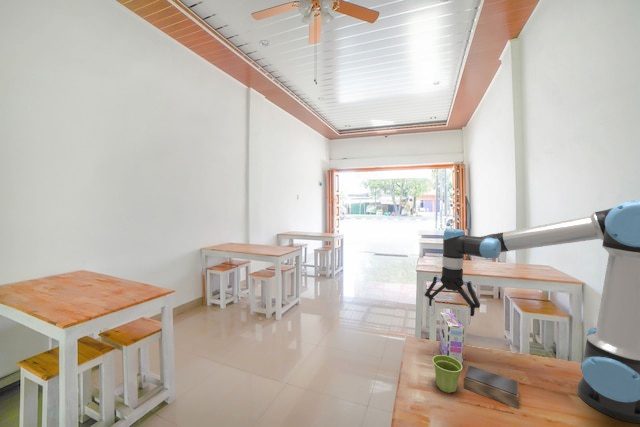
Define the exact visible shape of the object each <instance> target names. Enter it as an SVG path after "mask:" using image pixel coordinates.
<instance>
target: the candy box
mask: <svg viewBox="0 0 640 427" xmlns="http://www.w3.org/2000/svg"><path fill="white" fill-rule="evenodd" d="M464 332H465V327H464V326H463V325H462V323H461V322H460V321H459V319H458V318H457V317H456V315H455V314H454V313H452V312H439V333H438V334H439V342H438V344H439V345H438V350H439V352H440V353H441V354H440V355H446V356H450V357H452V358H454V359H456V360H458V361H459V362H460V363H461V364H462V367H464V366H463V364H464V337H465V333H464ZM462 370H463V368H462Z"/></svg>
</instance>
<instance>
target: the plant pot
mask: <svg viewBox="0 0 640 427" xmlns="http://www.w3.org/2000/svg"><path fill="white" fill-rule="evenodd" d="M431 361H432V363H433V367H434V372H435V380H436V386H437V387H438V388H439V390H440V391H442V392H445V393H447V394H450V393H455V392H456V391H457V389H458V388H457V387H458V381H459V377H460V374H461V372H462V371H463V369H462V368H463V367H464V366H463V367H462V364H461V363H460V362H459V361H458V360H456V359H454V358H452V357H450V356H446V355H442V354H437V355H434V356H433V357H432V360H431Z"/></svg>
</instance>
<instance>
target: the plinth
mask: <svg viewBox="0 0 640 427" xmlns="http://www.w3.org/2000/svg"><path fill="white" fill-rule="evenodd" d="M466 367H467V368H466V370H465V374H464V377H463V389H466V390H468V391H471V392H473V393H475V394H479V395H480V396H484V397H487V398H488V399H489V398H490V399H492V400H495V401H497V402H499V403H503V404H504V405H508V406H510V407H513V408H516V409H519V395H520V394H519V392H520V391H519V390H520V388H519V385H520V383H519V381H518V380H516V379H512V378H510V377H506V376H502V375H500V374H497V373H494V372H491V371H488V370H485V369H483V368H482V369H481V368H478V367H476V366H473V365H467V366H466Z"/></svg>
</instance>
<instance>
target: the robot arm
mask: <svg viewBox="0 0 640 427" xmlns="http://www.w3.org/2000/svg"><path fill="white" fill-rule="evenodd" d="M465 232H466V231H465V230H463V229H458V228H448V229H447V228H446V229H445V230H444V232H443V237H442V238H443V239H442V241H443V242H442V244H443V245H442V264H441V265H442V267H441V268H442V270H441V276H438V275H435V276H433V279H432V282H431V283H430V285H429V287H428V289H427V290H426V292H425V294H424V296H425V297H427V298H428V306H429V307H431V309H430V310H431V311H430V312H431V313H430V315H431V316H434V315H435V313H436V312H435V311H436V297H435V296H436V295H438V294H439V293H440V292H441V291H442V290H444V289H446V290H448V291H452V292H456V291H457V292H458V293H459V294H460V296H461V297H462V298H463V299H464V300H465V302H466V303H467V305H468V310H467V325H471V322H472V317H474V315H475V312H476V311H475V310H476V309H479V308H480V307H481V303H480V301H479V299H478V297H477V295H476V292H475V291H474V288H473V285H472V281H470V280H469V281H464V280H463V278H464V270H463V268H464V256H465V255H467V256H472V257H478V258H483V259H491V260H492V259H493V260H496V259H498V258H499V257H500V255H501V253H505V252H511V251H520V250H526V249H533V248H541V247H548V246H557V245H563V244H573V243H579V242H587V241H593V240H600V241H602V246H601V247H602V248H604V250H605V251H606V252H607V253H608V258H607V261H606V262H607V264H606V269H605V274H604V275H605V276H604V281H603V287H602V294H601V298H600V303H599V304H600V306H599V312H598V315H597V322H596V327H590V328H589V329H588V331H587V334H586V336H587V337H586V342H585V348H584V352H583V353H584V354H583V358H582V359H583V360H582V362H581V363H580V370H581V374H582V377H581V379H580V381H579V382H578V385H577V394H578V397H579V398H580V399H581V400H582V401H583V402H585V403H586V404H587V405H588V406H590V407H591V408H593V409H595V410H597V412H601V413H603V414H604V415H606V416H610V417H611V418H614V419H617V420H620V421H623V422H628V423H633V424H640V199H639V200H634V199H633V200H630V201H626V202H622V203H618V205H616V206H614V207H612V208H607V209H604V210H598V211H594V212H593V213H592V214H591V215H590V216H584V217H579V218H574V219H568V220H562V221H557V222H551V223H547V224H541V225H536V226H531V227H526V228H524V227H523V228H519V229H514V230H509V231H504V232H498V233H491V234H487V235H482V236H474V235H473V236H472V235H466V233H465ZM438 282H440V283H441V284H442V285H441V286H439V287H438V288H437V289H436V290H435V291H433V292H432V290H433V289H434V287H435V285H436V284H437V283H438ZM462 286H465V287H466V288H467V291H468V293H469V295H470V296H469V295H468V294H467V293H466V292H465V290H464V288H463V287H462ZM431 292H432V293H431Z"/></svg>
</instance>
